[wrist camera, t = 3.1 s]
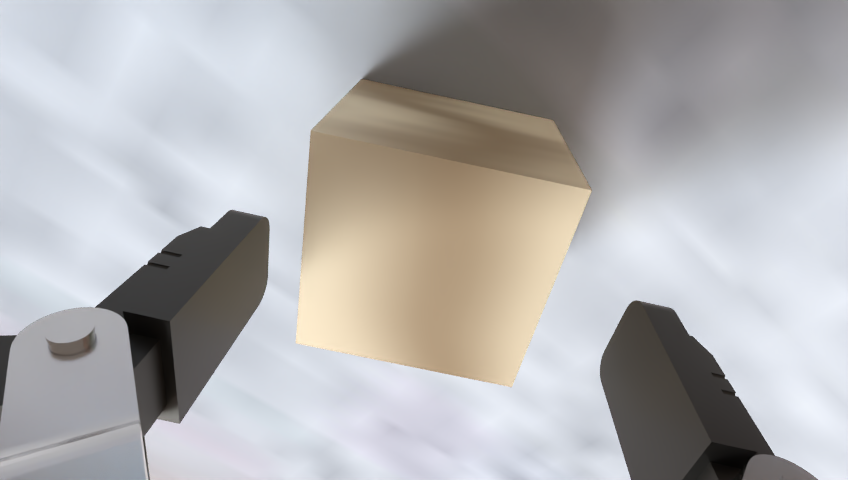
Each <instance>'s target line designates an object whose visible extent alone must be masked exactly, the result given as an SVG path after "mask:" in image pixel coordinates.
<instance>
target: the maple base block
mask: <svg viewBox="0 0 848 480" xmlns="http://www.w3.org/2000/svg"><path fill="white" fill-rule="evenodd" d="M591 192H592V190H591V188H590V186H589V184H588V182H587V181H586V179H585V177H584V175H583V173H582V172H581V170H580V168H579V166H578V164H577V162H576V161H575V159H574V157H573V155H572V153H571V152H570V150H569V148H568V146H567V144H566V142H565V141H564V139H563V137H562V135H561V133H560V132H559V130H558V128H557V126H556V124H555V123H554V121H553V120H550V119H546V118H541V117H537V116H532V115H527V114H523V113H518V112H513V111H509V110H504V109H499V108H495V107H490V106H486V105H481V104H476V103H472V102H467V101H462V100H458V99H453V98H448V97H444V96H439V95H435V94H430V93H425V92H421V91H416V90H411V89H407V88H402V87H397V86H393V85H388V84H384V83H379V82H374V81H370V80H365V79H361V80H360V81H359V82H358V83H357V84H356V85H355V86H354V87H353V88H352V89H351V90H350V91H349V92H348V93H347V94H346V95H345V96H344V97H343V98H342V99H341V100H340V101H339V102H338V103H337V105H336V106H335V107H334V108H333V109H332V110H331V111H330V112H329V113H328V114H327V115H326V116H325V117H324V118H323V119H322V120H321V121H320V122H319V123H318V124H317V125H316V126H315V127H314V128H313V129H312V130H311V135H310V149H309V163H308V177H307V192H306V206H305V220H304V234H303V248H302V263H301V277H300V291H299V305H298V319H297V334H296V343H297V344H302V345H307V346H312V347H317V348H322V349H327V350H331V351H336V352H341V353H346V354H351V355H356V356H361V357H366V358H371V359H376V360H381V361H386V362H391V363H395V364H400V365H405V366H410V367H415V368H420V369H425V370H430V371H435V372H440V373H445V374H450V375H455V376H460V377H464V378H469V379H474V380H479V381H484V382H489V383H494V384H499V385H504V386H509V387H512V385H513V383H514V380H515V378H516V375H517V373H518V370H519V368H520V365H521V363H522V361H523V358H524V356H525V353H526V351H527V348H528V346H529V343H530V341H531V339H532V336H533V334H534V331H535V329H536V326H537V324H538V321H539V319H540V316H541V314H542V312H543V309H544V307H545V304H546V302H547V299H548V297H549V294H550V292H551V290H552V287H553V285H554V282H555V280H556V277H557V275H558V272H559V270H560V267H561V265H562V263H563V260H564V258H565V255H566V253H567V250H568V248H569V245H570V243H571V241H572V238H573V236H574V233H575V231H576V228H577V226H578V223H579V221H580V218H581V216H582V214H583V211H584V209H585V206H586V204H587V201H588V199H589V196H590V194H591Z"/></svg>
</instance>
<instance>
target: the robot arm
mask: <svg viewBox="0 0 848 480" xmlns="http://www.w3.org/2000/svg"><path fill="white" fill-rule="evenodd" d="M268 255H269V221H268V219H267V218H266V217H262V216H258V215H253V214H249V213H244V212H240V211H235V210H230V211H228V212H227V213H226V214H225V215H224V216H223V217H222V218H221V219H220V220H219V221H218V222H217V223H216V224H214V225H213V226H212V227H211V228H205V227H199V228H196V229H194V230H191V231H189V232H187V233H184V234H182V235H179V236H177V237H176V238H175V239H174V240H173V241H171V242H170V243H169V244H168V245H167V246H166V247H165V248H163V249H162V251H161V253H158V254H156V255H155V256H154V257H153V258H152V259H151V260H149V261H148V264H147V265H144V266H142V267H141V268H140V269H139V270H138V271H137V272H136V273H134V274H133V275H132V276H131V277H130V278H129V279H127V280H126V281H125V282H124V283H123V284H122V285H120V286H119V287H118V288H117V289H116V290H115V291H114V292H112V293H111V294H110V295H109V296H108V297H107V298H105V299H104V300H103V301H102V302H101V303H100V304H98V305H97V306H96V307H95V308H93V307H84V308H73V309H68V310H63V311H59V312H56V313H53V314H50V315H47V316H45V317H43V318H41V319H39V320H37V321H35V322H33V323H32V324H30V325H28V326H27V327H26V328H24V329H23V330H22V331H21V332H20V333H19V334H18V335H12V336H0V480H150V474H149V466H148V459H147V451H146V443H145V437H144V436H145V434H146V433H147V432H148V430H149V429H150V428H151V426H152V425H153V423H154V422H155V421H156V419H161V420H165V421H170V422H174V423H179V424H180V422H181V421H182V419H183V418H184V416H185V415H186V413H187V412H188V410H189V409H190V407H191V406H192V404H193V403H194V401H195V400H196V398H197V397H198V395H199V394H200V392H201V391H202V389H203V388H204V386H205V385H206V383H207V382H208V380H209V379H210V377H211V376H212V374H213V373H214V371H215V370H216V368H217V367H218V365H219V364H220V362H221V361H222V359H223V358H224V356H225V355H226V353H227V352H228V350H229V349H230V347H231V346H232V344H233V343H234V341H235V340H236V338H237V337H238V335H239V334H240V332H241V331H242V329H243V328H244V326H245V325H246V324H247V322H248V321H249V319H250V318H251V316H252V315H253V313H254V312H255V310H256V309H257V307H258V306H259V304H260V302H261V300H262V298H263V295H264V292H265V289H266V285H267V279H268ZM600 378H601V382H602V386H603V389H604V392H605V395H606V399H607V402H608V405H609V409H610V412H611V415H612V418H613V422H614V425H615V428H616V431H617V435H618V438H619V441H620V445H621V448H622V451H623V454H624V458H625V461H626V464H627V467H628V471H629V474H630V477H631V480H818V479H817V478H815V477H814V476H813V475H811V474H810V473H808V472H807V471H806V470H804V469H803V468H801V467H799V466H797V465H796V464H794V463H792V462H790V461H788V460H785V459H783V458H780V457H777V456H775V455H774V454H773V452H772V450H771V449H770V447H769V445H768V444H767V442H766V441H765V439H764V437H763V436H762V434H761V433H760V431H759V429H758V428H757V426H756V425H755V423H754V421H753V420H752V418H751V416H750V415H749V413H748V412H747V410H746V408H745V407H744V405H743V404H742V402H741V400H740V399H739V397H737V396H735V393H736V392H735V391H734V389H733V387H732V386H731V384H730V383H729V381H728V380H727V379H725V375H724V373H723V371H722V370H721V368H720V367H719V365H718V363H717V362H716V360H715V358H714V357H713V355H712V354H711V353H709V352H708V351H707V350H706V349H705V348H704V347H703V346H702V345H701V344H700V343H699V342H698V341H697V340H696V339H695V338H694V337H693V336H689V334H688V333H687V331H686V329H685V328H684V326H683V324H682V322H681V321H680V319H679V317H678V316H677V314H676V312H675V311H674V310H673V309H671V308H668V307H664V306H659V305H655V304H650V303H646V302H641V301H633V302H632V303H630V304H629V306H628V307H627V309H626V311H625V313H624V315H623V316H622V318H621V320H620V322H619V324H618V326H617V328H616V330H615V332H614V334H613V336H612V338H611V339H610V341H609V343H608V345H607V347H606V349H605V351H604V353H603V356H602V360H601V365H600Z"/></svg>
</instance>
